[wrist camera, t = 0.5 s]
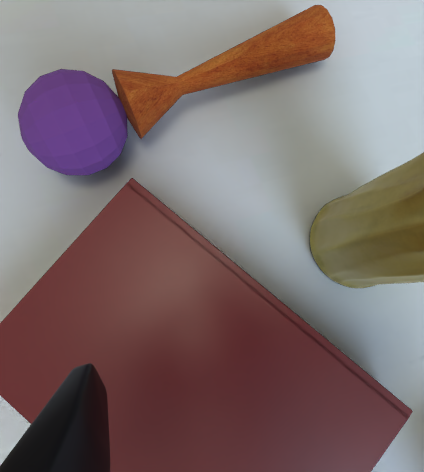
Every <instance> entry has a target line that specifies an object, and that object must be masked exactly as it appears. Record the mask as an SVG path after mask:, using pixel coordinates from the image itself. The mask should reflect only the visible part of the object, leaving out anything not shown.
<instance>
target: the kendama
mask: <svg viewBox="0 0 424 472" xmlns="http://www.w3.org/2000/svg"><path fill="white" fill-rule="evenodd" d="M334 44H335V27H334V24H333V20H332V17H331V15H330V14H329V12H328V10H327V9H326V8H324V7H323V6H322V5H314V6H312V7H310V8H309V9H307V10H305V11H303V12H301V13H299V14H297V15H295V16H293V17H291V18H289V19H287V20H285V21H283V22H281V23H280V24H278V25H276V26H274V27H272V28H270V29H268V30H266V31H264V32H262V33H260V34H258V35H256V36H254V37H253V38H251V39H249V40H247V41H245V42H243V43H241V44H239V45H237V46H235V47H233V48H231V49H229V50H227V51H226V52H224V53H222V54H220V55H218V56H216V57H214V58H212V59H210V60H208V61H206V62H204V63H202V64H200V65H199V66H197V67H195V68H193V69H191V70H189V71H187V72H185V73H183V74H181V75H179V76H177V77H172V76H164V75H156V74H148V73H139V72H131V71H123V70H114V69H112V73H113V77H114V81H115V85H116V89H117V93H118V96H117V95H116V94H115V93H114V92H113V91H112V90H111V89H110V88H109V86H108V85H107V84H106V83H105V82H104V81H102V80H100V79H98V78H96V77H94V76H92V75H90V74H88V73H86V72H84V71H77V70H65V69H60V70H57V71H54V72H51V73H48V74H45V75H42V76H40V77H39V78H38V79H37V80H36V81H35V82H34V83H33V84H32V85H31V86H30V87H29V88H28V89H27V90H26V91H25V94H24V97H23V100H22V103H21V106H20V109H19V112H18V118H19V125H20V131H21V136H22V139H23V141H24V143H25V145H26V147H27V148H28V150H29V151H30V152H31V153H32V154H33V155H34V156H35V157H36V158H37V159H38V160H39V161H41V162H42V163H43V164H44V165H45V166H46V167H47V168H50V169H52V170H55V171H57V172H60V173H63V174H65V175H90V174H93V173H95V172H98V171H100V170H103V169H105V168H107V167H108V166H109V165H110V164H111V163H112V162H113V161H114V160H115V159H116V158H117V157H118V156H119V155H120V154H121V152H122V149H123V147H124V144H125V142H126V139H127V136H128V135H127V118H128V120H129V121H130V123H131V125H132V126H133V128H134V129H135V131H136V133H137V134H138V136H139V137H140V139H142V138H143V136H144V135H145V134H146V133H147V132H148V131H149V130H150V129H151V128H152V127H153V126H154V125H155V124H156V123H157V122H158V120H159V119H160V118H161V117H162V116H163V115H164V114H165V113H166V112H167V111H168V110H169V109H170V108H171V107H172V106H173V104H174V103H175V102H176V101H177V100H178V99H179V98H180V97H181V96H182V95H184V94H188V93H192V92H196V91H200V90H204V89H208V88H212V87H216V86H220V85H224V84H228V83H232V82H236V81H240V80H244V79H248V78H252V77H256V76H260V75H264V74H268V73H272V72H276V71H280V70H285V69H289V68H293V67H297V66H301V65H305V64H309V63H313V62H317V61H321V60H324V59H326V58H328V57H329V56H330V55H331V53H332V51H333V49H334Z"/></svg>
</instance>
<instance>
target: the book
mask: <svg viewBox="0 0 424 472" xmlns="http://www.w3.org/2000/svg"><path fill="white" fill-rule="evenodd" d="M88 363H91V364H93V365H94V366H95V368H96V370H97V372H98V374H99V376H100V378H101V380H102V382H103V384H104V386H105V388H106V392H107V399H108V420H109V440H110V472H371V471H372V469H373V468H374V467H375V465H376V464H377V462H378V461H379V459H380V458H381V457H382V455H383V454H384V452H385V451H386V449H387V448H388V447H389V445H390V444H391V442H392V441H393V439H394V438H395V437H396V435H397V434H398V432H399V431H400V429H401V428H402V427H403V425H404V424H405V422H406V421H407V419H408V418H409V417H410V415H411V413H412V412H413V411H412V410H411V409H410V408H409V407H407V406H406V405H405V404H404V403H403V402H401V401H400V400H399V399H398V398H397V397H395V396H394V395H393V394H392V393H391V392H389V391H388V390H387V389H386V388H385V387H383V386H382V385H381V384H380V383H379V382H377V381H376V380H375V379H374V378H373V377H371V376H370V375H369V374H368V373H367V372H365V371H364V370H363V369H362V368H361V367H359V366H358V365H357V364H356V363H354V362H353V361H352V360H351V359H350V358H348V357H347V356H346V355H345V354H344V353H342V352H341V351H340V350H339V349H338V348H336V347H335V346H334V345H333V344H332V343H330V342H329V341H328V340H327V339H326V338H324V337H323V336H322V335H321V334H320V333H318V332H317V331H316V330H315V329H314V328H312V327H311V326H310V325H309V324H308V323H306V322H305V321H304V320H303V319H302V318H300V317H299V316H298V315H297V314H296V313H294V312H293V311H292V310H291V309H289V308H288V307H287V306H286V305H285V304H283V303H282V302H281V301H280V300H279V299H277V298H276V297H275V296H274V295H273V294H271V293H270V292H269V291H268V290H267V289H265V288H264V287H263V286H262V285H261V284H259V283H258V282H257V281H256V280H255V279H253V278H252V277H251V276H250V275H249V274H247V273H246V272H245V271H244V270H243V269H241V268H240V267H239V266H238V265H237V264H235V263H234V262H233V261H232V260H231V259H229V258H228V257H227V256H226V255H224V254H223V253H222V252H221V251H220V250H218V249H217V248H216V247H215V246H214V245H212V244H211V243H210V242H209V241H208V240H206V239H205V238H204V237H203V236H202V235H200V234H199V233H198V232H197V231H196V230H194V229H193V228H192V227H191V226H190V225H188V224H187V223H186V222H185V221H184V220H182V219H181V218H180V217H179V216H178V215H176V214H175V213H174V212H173V211H172V210H170V209H169V208H168V207H167V206H166V205H164V204H163V203H162V202H161V201H160V200H158V199H157V198H156V197H155V196H153V195H152V194H151V193H150V192H149V191H147V190H146V189H145V188H144V187H143V186H141V185H140V184H139V183H138V182H137V181H135V180H134V179H133V178H131V179H130V180H129V181H128V182H127V183H126V185H125V186H124V187H123V188H122V189H121V190H120V191H119V192H118V193H117V195H116V196H115V197H114V198H113V199H112V200H111V201H110V202H109V203H108V205H107V206H106V207H105V208H104V209H103V210H102V211H101V212H100V213H99V214H98V216H97V217H96V218H95V219H94V220H93V221H92V222H91V223H90V224H89V226H88V227H87V228H86V229H85V230H84V231H83V232H82V233H81V234H80V236H79V237H78V238H77V239H76V240H75V241H74V242H73V243H72V244H71V246H70V247H69V248H68V249H67V250H66V251H65V252H64V253H63V254H62V255H61V257H60V258H59V259H58V260H57V261H56V262H55V263H54V264H53V265H52V267H51V268H50V269H49V270H48V271H47V272H46V273H45V274H44V275H43V277H42V278H41V279H40V280H39V281H38V282H37V283H36V284H35V285H34V287H33V288H32V289H31V290H30V291H29V292H28V293H27V294H26V295H25V296H24V298H23V299H22V300H21V301H20V302H19V303H18V304H17V305H16V306H15V308H14V309H13V310H12V311H11V312H10V313H9V314H8V315H7V316H6V318H5V319H4V320H3V321H2V322H1V323H0V395H1V396H2V397H3V398H4V399H5V400H6V401H7V402H8V403H9V404H10V405H11V406H12V407H13V408H15V409H16V410H17V411H18V412H19V413H20V414H21V415H22V416H23V417H24V418H25V419H26V420H28V421H29V422H30V423H31V424H32V423H33V421H34V420H35V419H36V417H37V416H38V415H39V413H40V412H41V411H42V409H43V408H44V407H45V405H46V404H47V403H48V401H49V400H50V399H51V397H52V396H53V395H54V393H55V392H56V391H57V389H58V388H59V387H60V385H61V384H62V383H63V381H64V380H65V379H66V377H67V376H68V375H69V373H70V372H71V371H72V369H74V368H75V367H78V366H81V365H85V364H88Z"/></svg>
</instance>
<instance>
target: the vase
mask: <svg viewBox="0 0 424 472" xmlns="http://www.w3.org/2000/svg"><path fill="white" fill-rule="evenodd" d="M310 246H311V251H312V255H313V257H314V259H315V261H316V263H317V265H318V266H319V268H320V269H321V270H322V271H323V273H324V274H325V275H326V276H328V277H329V278H330V279H332V280H333V281H335V282H337V283H339V284H341V285H344V286H347V287H351V288H365V287H370V286H374V285H377V284H394V283H416V282H424V152H423V153H422V154H420V155H419V156H417V157H415V158H414V159H412V160H410V161H408V162H406V163H405V164H403V165H401V166H399V167H397V168H395V169H393V170H391V171H389V172H387V173H385V174H383V175H381V176H379V177H377V178H375V179H374V180H372V181H370V182H369V183H367V184H365V185H363V186H361V187H360V188H358V189H357V190H355V191H353V192H351V193H350V194H348V195H346V196H342V197H339V198H337V199H335V200H333V201H331V202H329V203H327V204H326V205H325V206H324V207H323V208H322V209H321V210H320V211H319V213H318V214H317V216H316V218H315V220H314V222H313V224H312V227H311V232H310Z"/></svg>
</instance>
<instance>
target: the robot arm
mask: <svg viewBox="0 0 424 472" xmlns="http://www.w3.org/2000/svg"><path fill="white" fill-rule="evenodd" d="M0 472H110V440H109V420H108V399H107V392H106V388H105V386H104V384H103V382H102V380H101V378H100V376H99V374H98V372H97V370H96V368H95V366H94V365H93V364H91V363H88V364H85V365H81V366H78V367H75V368H74V369H72V371H71V372H70V373H69V375H68V376H67V377H66V379H65V380H64V381H63V383H62V384H61V385H60V387H59V388H58V389H57V391H56V392H55V393H54V395H53V396H52V397H51V399H50V400H49V401H48V403H47V404H46V405H45V407H44V408H43V409H42V411H41V412H40V413H39V415H38V416H37V417H36V419H35V420H34V421H33V423H32V424H31V425H30V427H29V428H28V429H27V431H26V432H25V434H24V435H23V436H22V438H21V439H20V440H19V442H18V443H17V444H16V446H15V447H14V448H13V450H12V451H11V452H10V454H9V455H8V456H7V458H6V459H5V460H4V462H3V463H2V464H1V466H0Z"/></svg>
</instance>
